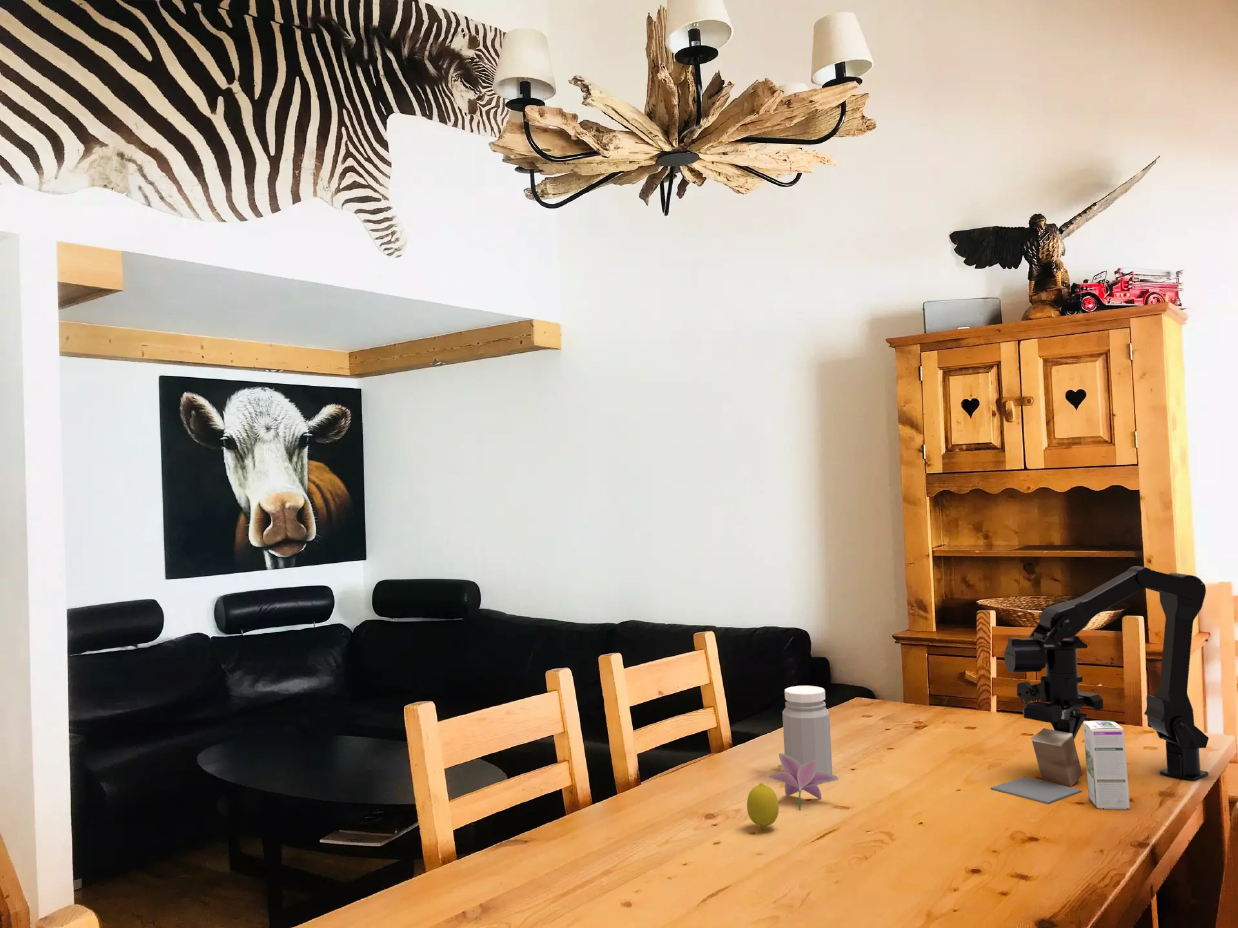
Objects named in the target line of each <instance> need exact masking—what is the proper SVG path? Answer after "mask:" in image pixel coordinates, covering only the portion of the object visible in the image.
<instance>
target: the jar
mask: <svg viewBox="0 0 1238 928" xmlns="http://www.w3.org/2000/svg"><path fill="white" fill-rule="evenodd" d="M784 699H785V700H786V701H785V702H784V704H785V705H784V706H785V707H784V709H783V710H782V726H783V727H782V729H783V731H782V733H783V747H784V749H783V750H784V753H783V754H785V755H787V756H790V757H792V758H794V759H795V760H797V761H798V762H799V763H800V764H801V765H803V764H805V763H807V762H809V761H812V760H816V761H817V770H816V771H823V772H827V773H830V774H832V775H833V760H832V759H833V758H832V757H833V756H832V739H831V738H832V737H831V721H830V720H831V719H830V717H831V716H830V712H829V710H828V709H827V707H826V705H827V704H826V701H824V700H826V690H825V688H823V687H820V686H815V685H796V686H790V687H787V688H785V689H784Z"/></svg>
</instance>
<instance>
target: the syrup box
mask: <svg viewBox="0 0 1238 928" xmlns="http://www.w3.org/2000/svg"><path fill="white" fill-rule="evenodd" d="M1082 725H1083V737H1084V753H1085V765H1086V769H1085V770H1086V779H1087V781H1086V783H1087V794H1088V800H1090V801H1091V803H1092V804H1093V805H1094V807H1096V809H1103V808H1104V809H1105V810H1130V807H1131V806H1130V805H1131V804H1130V791H1129V790H1130V789H1129V776H1128V765H1127V754H1126V753H1127V752H1126V743H1125V742H1126V741H1125V731H1124V728H1123V727H1122V726H1121V725H1119V724H1118V723H1117V722H1115V721H1114V720H1112V721H1111V720H1089V721H1088V720H1087V721H1086V720H1085V721H1083V723H1082ZM1127 808H1128V809H1127ZM1104 809H1103V810H1104Z"/></svg>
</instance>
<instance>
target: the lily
mask: <svg viewBox="0 0 1238 928" xmlns="http://www.w3.org/2000/svg"><path fill="white" fill-rule="evenodd" d="M778 757H779V761H780V764H781V767H782V769H783V771H778V772H775V773H772V774H770V775H768V776H767V777H768V778H770V779H772V780H777V781H780V782H784V793H785V796H792V795H795V794H796V793H798V807H799V808H798V809H799V811H801V810H802V807H801V805H802V804H801V800H802V799H801V793H802V791H804V792H806V793H808V794H809V795H811V796H814V797H815V798H817V799H819V800H820V799H822V793H821V790H820V788H819V785H823V784H826V783H831V782H834V781H838V780H839V778H840V777H838V776H837V775H835V774H833V773H832V774H830V773H827V772H823V771H816V770H817V761H816V760H812V761H809V762H807V763H805V764H803V765H801V764H800V763H799V762H798V761H797V760H795V759H794V758H792V757H790V756H787V755H785V754H784V753H782V752H781V753H780V752H779V754H778Z"/></svg>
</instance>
